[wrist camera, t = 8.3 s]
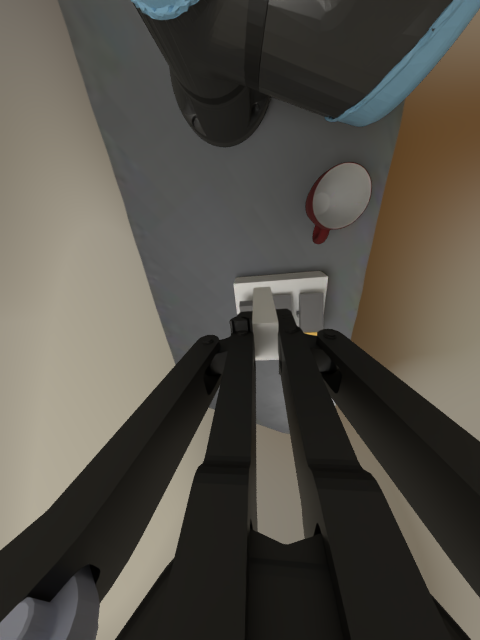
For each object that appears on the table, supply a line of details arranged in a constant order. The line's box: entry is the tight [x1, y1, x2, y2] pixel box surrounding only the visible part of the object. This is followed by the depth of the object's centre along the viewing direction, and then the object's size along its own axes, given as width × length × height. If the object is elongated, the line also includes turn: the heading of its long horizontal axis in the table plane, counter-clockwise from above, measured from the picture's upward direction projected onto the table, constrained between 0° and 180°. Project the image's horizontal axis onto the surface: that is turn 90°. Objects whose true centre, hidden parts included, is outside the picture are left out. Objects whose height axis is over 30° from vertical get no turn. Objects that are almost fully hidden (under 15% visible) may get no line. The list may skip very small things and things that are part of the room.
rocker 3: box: [299, 293, 324, 336], centre depth 37 cm, size 10×4×2 cm, turn 6°
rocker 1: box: [239, 300, 253, 312], centre depth 39 cm, size 10×4×2 cm, turn 5°
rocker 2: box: [273, 295, 292, 312], centre depth 38 cm, size 10×4×2 cm, turn 6°
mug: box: [305, 162, 372, 244], centre depth 31 cm, size 10×8×10 cm
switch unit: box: [234, 271, 328, 327], centre depth 42 cm, size 15×19×7 cm
